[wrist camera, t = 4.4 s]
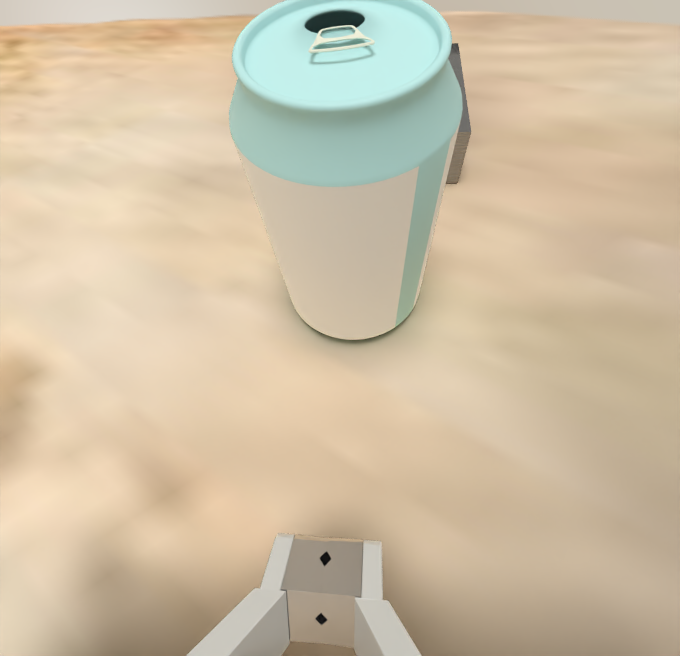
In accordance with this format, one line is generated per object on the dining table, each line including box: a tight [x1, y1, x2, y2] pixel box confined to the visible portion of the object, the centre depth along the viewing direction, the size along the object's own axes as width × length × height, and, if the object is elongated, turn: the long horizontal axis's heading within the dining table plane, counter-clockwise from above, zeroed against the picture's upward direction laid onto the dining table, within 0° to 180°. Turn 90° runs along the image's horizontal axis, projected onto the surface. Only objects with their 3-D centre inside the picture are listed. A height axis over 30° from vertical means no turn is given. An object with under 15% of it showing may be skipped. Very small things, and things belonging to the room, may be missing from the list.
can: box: [229, 0, 463, 340], centre depth 15 cm, size 7×7×12 cm
